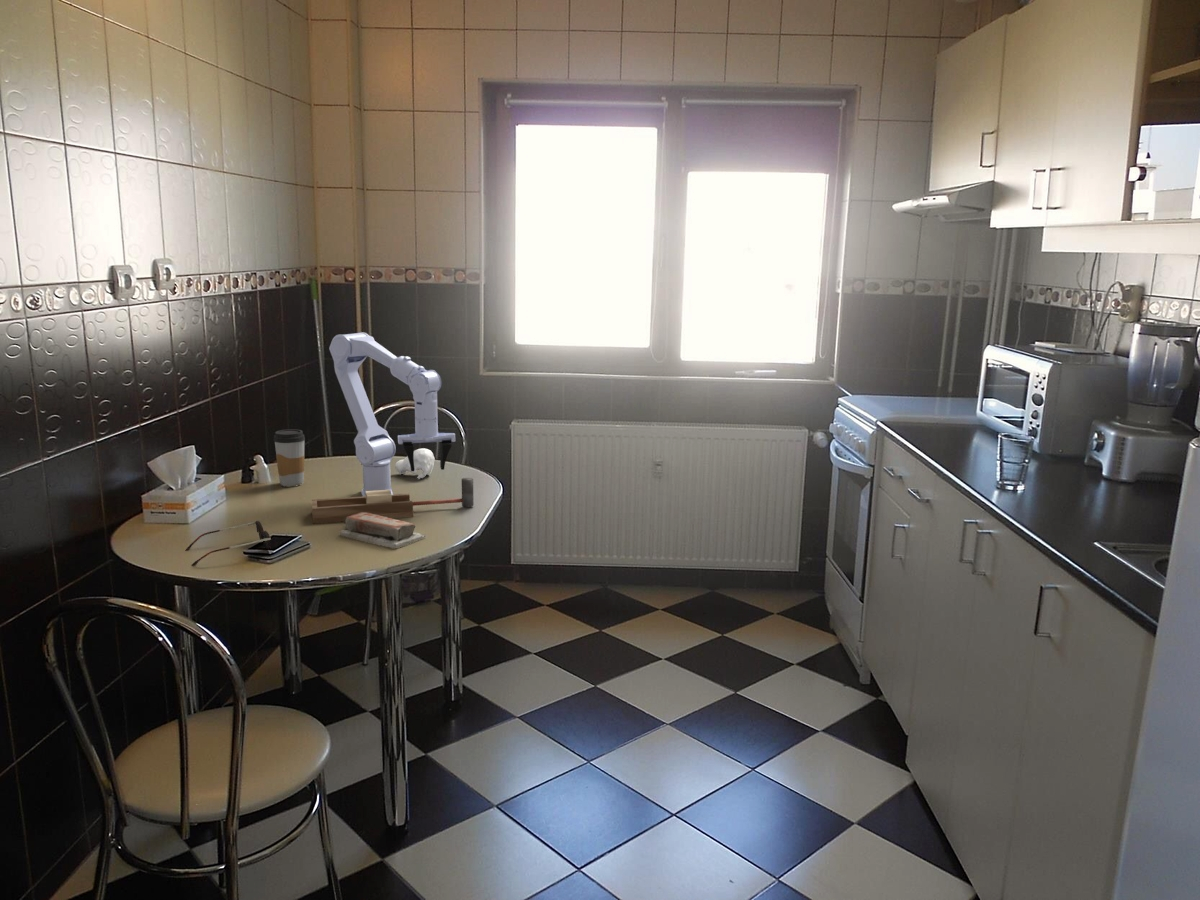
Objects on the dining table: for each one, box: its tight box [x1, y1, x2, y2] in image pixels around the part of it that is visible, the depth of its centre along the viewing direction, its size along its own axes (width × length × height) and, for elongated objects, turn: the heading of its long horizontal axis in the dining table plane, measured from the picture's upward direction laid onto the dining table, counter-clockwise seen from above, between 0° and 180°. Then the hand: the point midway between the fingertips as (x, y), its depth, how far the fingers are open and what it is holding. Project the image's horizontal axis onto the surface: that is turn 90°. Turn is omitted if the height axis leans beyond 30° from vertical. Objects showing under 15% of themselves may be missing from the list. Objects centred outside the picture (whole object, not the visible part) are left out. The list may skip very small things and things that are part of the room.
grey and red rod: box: [366, 477, 475, 508], centre depth 230 cm, size 5×27×7 cm, turn 108°
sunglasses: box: [185, 520, 272, 566], centre depth 196 cm, size 14×16×5 cm
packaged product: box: [339, 512, 426, 549], centre depth 209 cm, size 18×5×10 cm
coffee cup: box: [273, 428, 306, 487], centre depth 251 cm, size 8×8×15 cm
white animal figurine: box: [394, 447, 436, 479], centre depth 264 cm, size 6×8×12 cm
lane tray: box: [311, 493, 414, 524], centre depth 226 cm, size 10×24×4 cm, turn 108°
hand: (427, 469), depth 234 cm, fingers open, 7 cm apart
